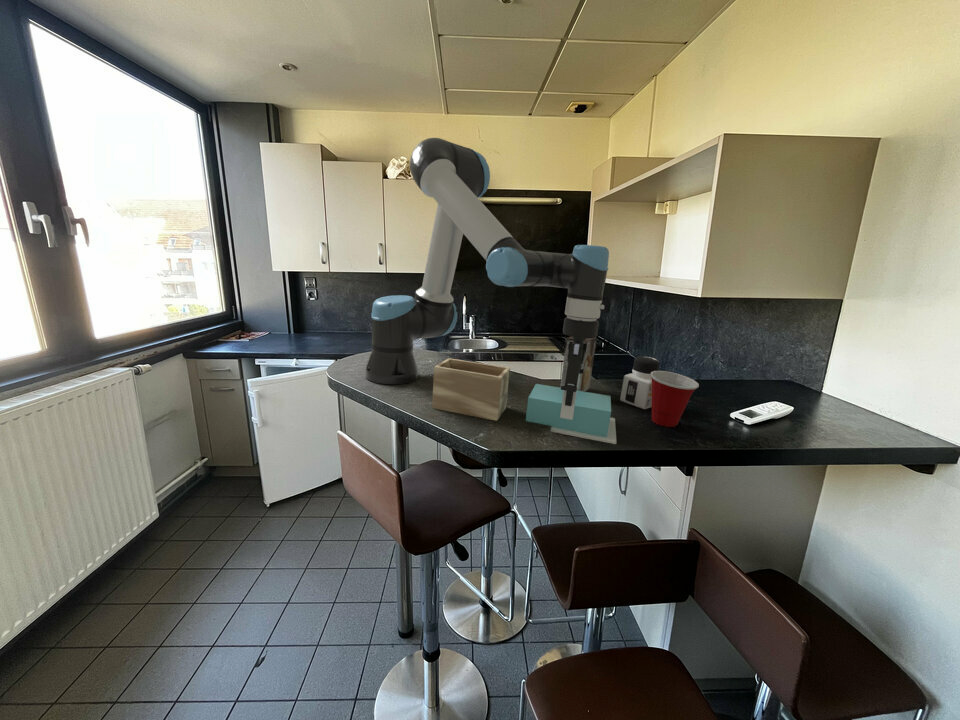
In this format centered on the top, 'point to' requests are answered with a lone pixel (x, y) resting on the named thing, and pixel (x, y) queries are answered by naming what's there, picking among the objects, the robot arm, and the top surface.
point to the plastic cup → (670, 396)
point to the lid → (587, 411)
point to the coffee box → (586, 365)
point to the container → (639, 383)
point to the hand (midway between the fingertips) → (568, 407)
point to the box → (470, 388)
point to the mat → (609, 439)
